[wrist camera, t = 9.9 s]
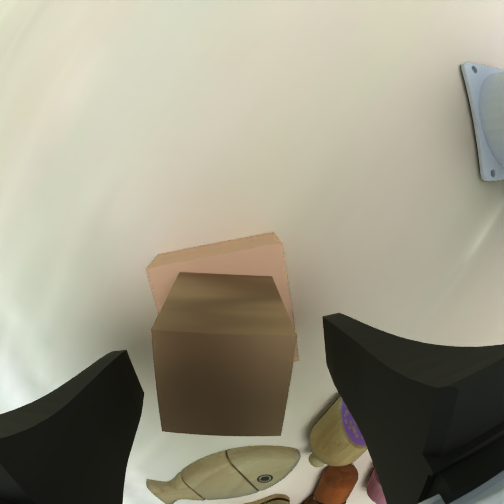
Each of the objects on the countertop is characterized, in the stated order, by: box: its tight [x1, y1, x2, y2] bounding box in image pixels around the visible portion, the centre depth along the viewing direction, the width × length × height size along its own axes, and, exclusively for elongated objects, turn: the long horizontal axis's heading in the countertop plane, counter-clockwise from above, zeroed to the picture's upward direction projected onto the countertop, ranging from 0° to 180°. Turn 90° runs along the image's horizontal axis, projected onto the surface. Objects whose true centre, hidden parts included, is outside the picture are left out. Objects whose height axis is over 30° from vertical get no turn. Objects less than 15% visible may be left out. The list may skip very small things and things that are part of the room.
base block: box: [146, 232, 299, 362], centre depth 16 cm, size 6×6×3 cm
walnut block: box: [151, 272, 297, 436], centre depth 12 cm, size 4×4×6 cm
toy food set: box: [146, 396, 387, 504], centre depth 20 cm, size 26×16×4 cm, turn 124°
